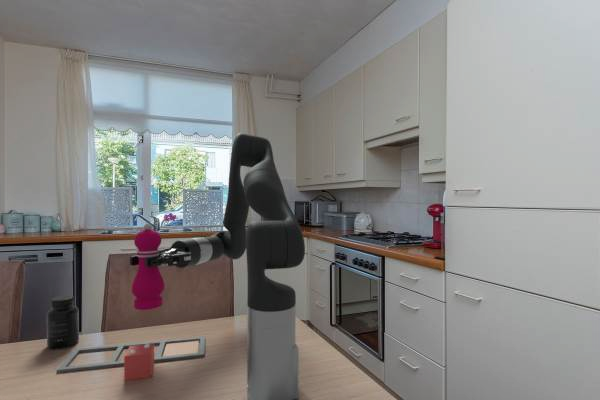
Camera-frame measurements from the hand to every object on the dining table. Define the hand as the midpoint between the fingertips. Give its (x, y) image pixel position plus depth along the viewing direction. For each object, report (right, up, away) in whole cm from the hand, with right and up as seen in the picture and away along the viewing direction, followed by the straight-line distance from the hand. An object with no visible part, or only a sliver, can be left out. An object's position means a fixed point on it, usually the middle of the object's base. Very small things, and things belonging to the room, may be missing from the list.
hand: (138, 262), depth 81 cm
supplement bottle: (-23, -23, +8) cm, 33 cm away
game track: (-1, -23, +2) cm, 23 cm away
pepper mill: (+1, -11, +2) cm, 12 cm away
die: (+3, -23, -7) cm, 24 cm away
